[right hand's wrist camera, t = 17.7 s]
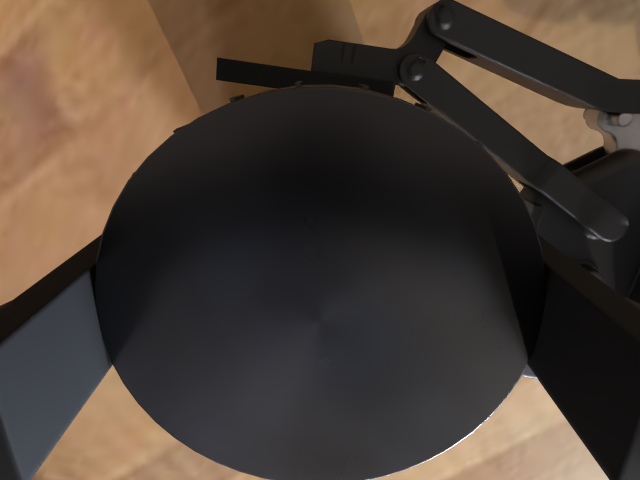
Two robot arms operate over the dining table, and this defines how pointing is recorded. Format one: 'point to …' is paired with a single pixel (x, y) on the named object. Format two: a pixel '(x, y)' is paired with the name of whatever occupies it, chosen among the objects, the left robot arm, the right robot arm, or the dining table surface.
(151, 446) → the dining table surface
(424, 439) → the lid
